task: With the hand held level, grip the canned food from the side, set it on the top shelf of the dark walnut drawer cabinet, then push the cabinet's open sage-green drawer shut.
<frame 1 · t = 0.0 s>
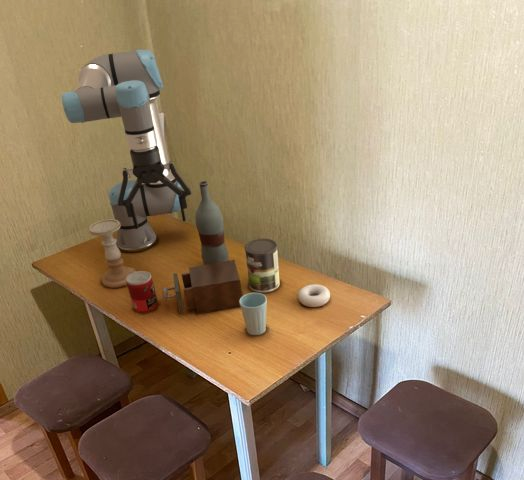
hand: (160, 223, 151), 28 cm above the table, tool pointing down, fingers open, 13 cm apart
canned food: (146, 307, 169), on the table
candle holder: (120, 279, 185), on the table
donut: (314, 300, 164), on the table
cup: (256, 330, 154), on the table
drawer: (191, 290, 165), point 5 cm above the table, slide at 4.0 cm
bottle: (216, 266, 186), on the table
cabinet: (218, 299, 169), on the table
coffee can: (264, 285, 173), on the table
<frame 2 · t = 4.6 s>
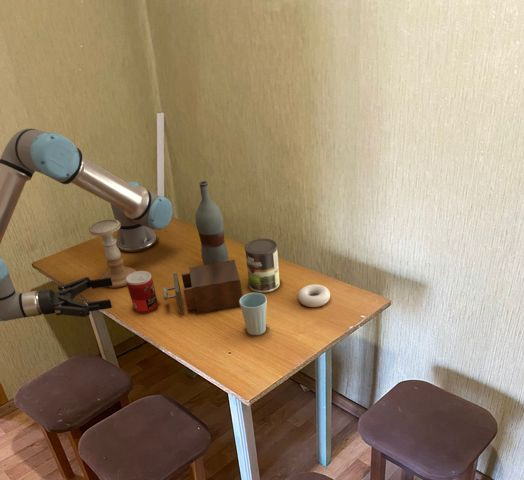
hand: (111, 292, 164), 7 cm above the table, tool horizontal, fingers open, 13 cm apart
nothing on the table moved.
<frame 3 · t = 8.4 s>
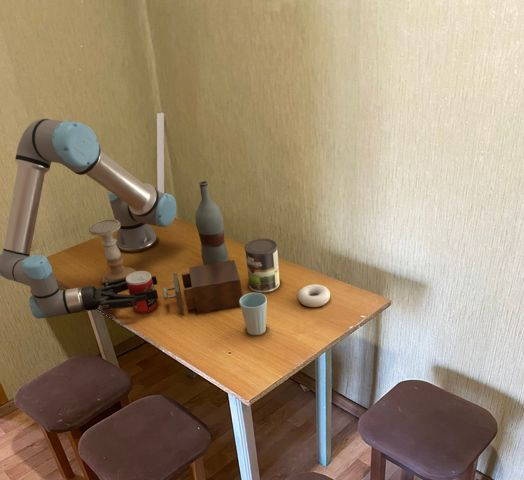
hand: (156, 286, 165), 6 cm above the table, tool horizontal, fingers closed on canned food, 8 cm apart
canned food: (146, 307, 169), on the table, touching gripper
everything else where it was.
when the fingers open (16 cm above the table, at t = 17.1 s): canned food stays where it is, resting on cabinet.
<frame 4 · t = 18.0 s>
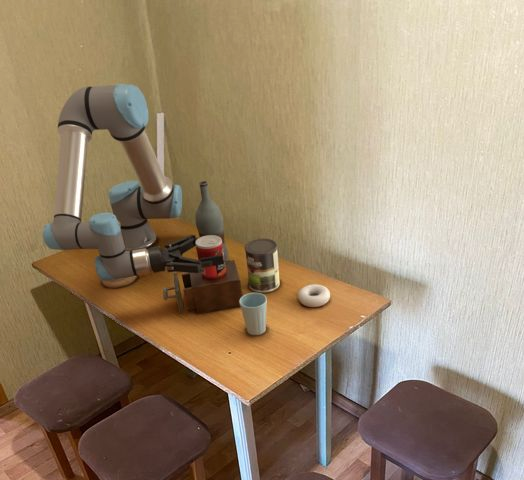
hand: (220, 248, 158), 17 cm above the table, tool horizontal, fingers open, 13 cm apart
canned food: (213, 273, 163), point 9 cm above the table, touching cabinet
everything else where it was.
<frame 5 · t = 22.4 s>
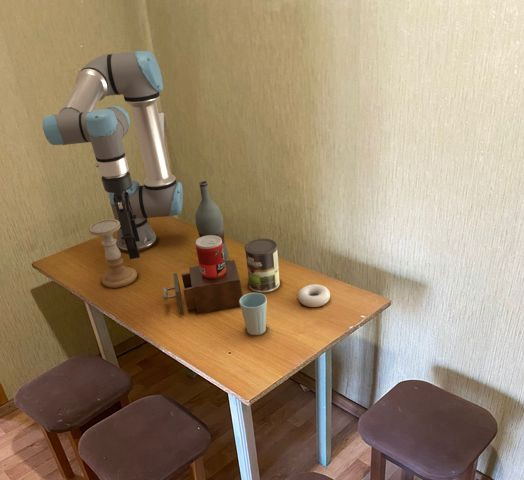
hand: (135, 249, 153), 22 cm above the table, tool pointing down, fingers open, 10 cm apart
nothing on the table moved.
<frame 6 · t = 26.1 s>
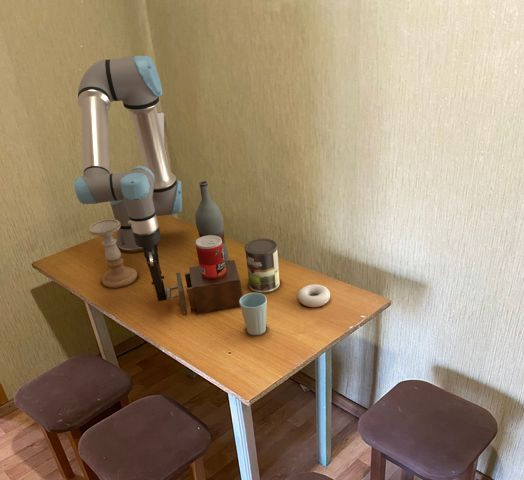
hand: (162, 299, 165), 3 cm above the table, tool pointing down, fingers closed
drawer: (194, 290, 165), point 5 cm above the table, slide at 3.0 cm, touching gripper
everything else where it was.
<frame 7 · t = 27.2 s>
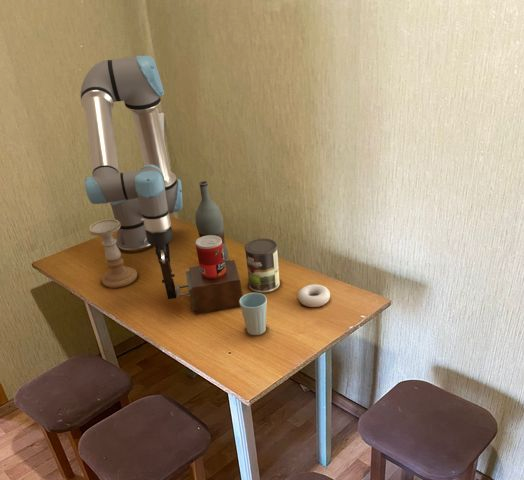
hand: (172, 297, 165), 3 cm above the table, tool pointing down, fingers closed
drawer: (204, 288, 165), point 5 cm above the table, slide at 0.0 cm, touching cabinet, gripper
everything else where it was.
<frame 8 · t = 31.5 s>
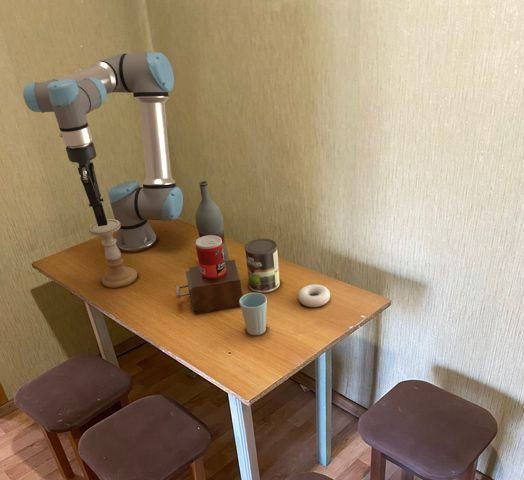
hand: (102, 224, 158), 26 cm above the table, tool pointing down, fingers closed
drawer: (204, 288, 165), point 5 cm above the table, slide at 0.0 cm, touching cabinet
everything else where it was.
at the end: canned food inside the target area on the cabinet (0.0 cm from its centre), point 9.4 cm above the cabinet's base; canned food tilted 0°; drawer slide at 0.0 cm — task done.
